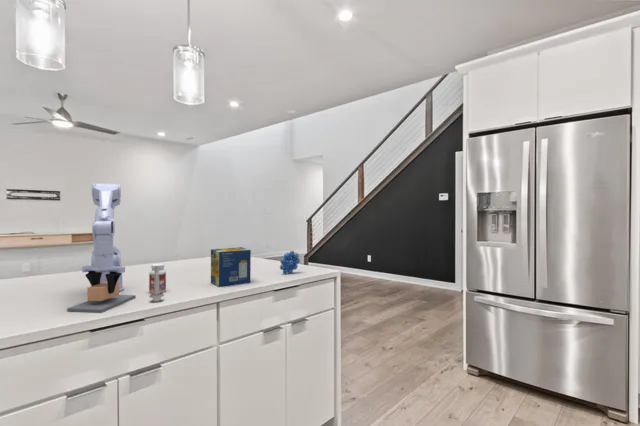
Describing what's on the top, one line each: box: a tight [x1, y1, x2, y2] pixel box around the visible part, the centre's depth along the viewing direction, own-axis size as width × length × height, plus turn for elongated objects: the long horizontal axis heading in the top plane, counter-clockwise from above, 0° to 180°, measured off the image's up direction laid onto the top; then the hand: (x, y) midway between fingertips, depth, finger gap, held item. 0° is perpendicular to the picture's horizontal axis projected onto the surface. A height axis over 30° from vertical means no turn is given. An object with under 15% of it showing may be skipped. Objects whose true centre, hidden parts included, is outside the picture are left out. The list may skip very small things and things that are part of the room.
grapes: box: [279, 250, 301, 275], centre depth 178 cm, size 12×7×12 cm, turn 124°
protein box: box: [210, 246, 252, 288], centre depth 155 cm, size 10×15×16 cm
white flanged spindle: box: [149, 266, 165, 303], centre depth 124 cm, size 13×5×5 cm
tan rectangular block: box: [86, 282, 120, 301], centre depth 119 cm, size 5×9×4 cm, turn 176°
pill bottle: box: [148, 263, 167, 294], centre depth 138 cm, size 6×6×11 cm
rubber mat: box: [66, 294, 137, 314], centre depth 120 cm, size 18×12×1 cm, turn 176°
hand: (103, 292), depth 119 cm, fingers closed on tan rectangular block, 5 cm apart
